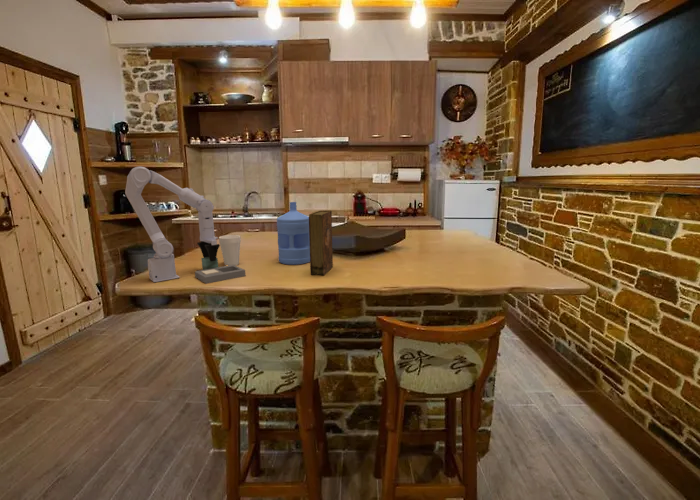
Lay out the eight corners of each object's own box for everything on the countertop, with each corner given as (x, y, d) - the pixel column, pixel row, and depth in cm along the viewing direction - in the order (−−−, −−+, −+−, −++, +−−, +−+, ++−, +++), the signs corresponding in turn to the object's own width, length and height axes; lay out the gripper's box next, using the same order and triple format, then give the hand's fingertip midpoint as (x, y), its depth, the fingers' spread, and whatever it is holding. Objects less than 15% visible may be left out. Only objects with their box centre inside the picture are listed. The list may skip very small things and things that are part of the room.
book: (321, 265, 162) (320, 210, 157) (333, 266, 161) (332, 210, 156) (310, 275, 146) (308, 214, 141) (323, 276, 145) (321, 214, 140)
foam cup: (228, 267, 160) (226, 239, 157) (217, 265, 165) (214, 237, 163) (246, 263, 167) (244, 236, 164) (234, 261, 173) (232, 234, 170)
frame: (205, 283, 136) (205, 276, 136) (195, 277, 145) (194, 270, 145) (245, 275, 147) (245, 269, 146) (233, 270, 155) (232, 263, 155)
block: (206, 273, 151) (205, 259, 149) (202, 271, 154) (201, 258, 153) (218, 271, 154) (217, 258, 153) (214, 269, 157) (213, 256, 156)
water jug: (282, 257, 179) (279, 201, 173) (314, 257, 178) (312, 200, 173) (275, 265, 164) (271, 203, 158) (309, 265, 163) (307, 203, 157)
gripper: (222, 228, 147) (225, 260, 150) (209, 225, 158) (212, 255, 161) (205, 230, 143) (208, 263, 146) (193, 226, 154) (196, 257, 156)
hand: (209, 259), depth 153 cm, fingers open, 7 cm apart
